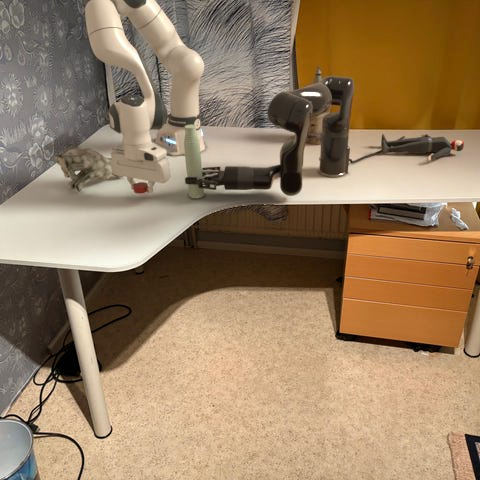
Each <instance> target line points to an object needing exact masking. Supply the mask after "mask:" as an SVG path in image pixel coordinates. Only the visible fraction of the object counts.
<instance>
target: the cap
mask: <svg viewBox="0 0 480 480" xmlns="http://www.w3.org/2000/svg"><path fill="white" fill-rule="evenodd" d="M135 183H136V184H134V185H133V188H134V190H133V192H134V193H135V194H139V195H140V194H145V193H148V192H147V190H146V188H147V187H148V186H149V183H148V182H146V181H145V182H144V181H141V182H135Z"/></svg>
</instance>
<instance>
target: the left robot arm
mask: <svg viewBox="0 0 480 480" xmlns="http://www.w3.org/2000/svg"><path fill="white" fill-rule="evenodd" d="M84 8H85V9H84V13H85V14H84V16H85V25H86V32H87V36H88V41H89V44H90V47H91V50H92V53H93V54H94V56H95V57H96V58H97V59H98V60H99V61H101V62H102V63H104V64H105V65H108V66H113V67H117V68H120V69H124V70H126V71H128V72H129V73H131V74H132V75H133V76H134V77H135V80H136V81H137V83H138V86H139V88H140V91H141V93H142V96H141V95H138V94H127V95H124V96H122V97H121V98H120V99H119V101H117V102H113V103H112V104H111V105H110V107H109V108H108V110H107V115H108V116H107V117H108V123H109V128H110V129H111V130H113V131H114V132H116V133H118V134H122V146H113V147H111V149H110V157H111V170H112V173H113V174H114V175H119V176H123V177H126V181H127V182H128V183H129V185H130V190H132V191H134V188H133V185H134V184H136V183H137V182H135V179H137V180H143V181H147V184H148V187H147V188H146V190H147V192H146V193H148V194H152V193H154V186H155V184H156V183H159V184H166V183H167V182H169V181H170V179H171V177H172V174H171V165H170V162H169V160H168V158H167V157H166V156H168V155H169V156H174V157H175V156H176V157H177V156H182V155H183V156H185V149H184V138H185V128H184V127H185V126H186V125H195V126H196V133H197V135H198V138H199V142H200V153H201V152H204V151H205V149H206V145H205V142H204V139H203V138H204V133H203V131H202V130H203V129H202V127H201V126H202V115H201V112H200V98H199V97H200V94H199V93H200V85H201V78H202V77H203V74H204V71H205V63H204V60H203V59H202V57H201V55H200V54H199V53H198V52H197V51H195V50H193V49H191V48H190V47H188V46H187V45H185V44H184V42H183V40H182V39H181V38H180V36H179V34H178V32H177V30H176V28H175V25H174V24H173V22H172V21H171V20H170V18H169V17H168V16H167V14H166V13H165V12H164V10H163V9H162V8H161V6H160V5H159V4H158V3H157V1H156V0H86V2H85V7H84ZM126 17H127V18H128V20H129V21H130V23H131V24H132V25H133V26H134V28H135V29H136V31H138V33H139V34H140V35H141V37H142V38H143V39H144V41H145V42H146V43H147V44H148V45H149V47H150V49H151V50H152V51H153V54H155V57H156V58H157V59H158V60H159V63H161V65H162V66H163V67H164V69H165V70H166V71H167V72H168V73H170V74H171V79H172V80H171V88H170V91H169V95H168V97H169V106H170V109H169V110H170V113H168V109H167V106H166V104H165V102H164V101H163V99H162V97H161V95H160V93H159V91H158V89H157V87H156V84H155V82H154V80H153V77H152V74H151V72H150V70H149V67H148V65H147V63H146V60H145V58H144V56H143V54H142V53H141V51H140V50H139V49H138V48H136V47H134V46H133V45H132V44H131V43H130V41H129V39H128V38H127V36H126V34H125V30H124V27H123V23H122V20H123V19H125V18H126ZM151 130H152V131H153V130H157V131H156V134H155V135H156V136H155V137H156V138H155V141H153V140H152V136H151Z"/></svg>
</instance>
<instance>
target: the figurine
mask: <svg viewBox="0 0 480 480" xmlns="http://www.w3.org/2000/svg"><path fill="white" fill-rule="evenodd" d="M54 160H55V163H57V165H59V166H60V170H61V171H62V173H63V176H64V177H65V178H67V179H68V178H69V179H70V180H71V181H70V182H69V183H68V186H69V188H70V189H71V190H76V192H77V193H81V192H82V187H84V185H85V184H87V183H88V182H90V181H92V180H94V179H96V180H108V179H109V178H111V176H113V177H118V178H124V176H119V175H114V174H113V173H112V170H111V158H110V157H106V156H104V155H103V154H102V153H100V152H98V151H97V150H95V149H93V148H89V147H83V146H72V147H69V148H67V149H65V150H64V151H63V152H58V153H57V154H56V155H55V156H54ZM76 172H78V173H76Z"/></svg>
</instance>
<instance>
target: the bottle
mask: <svg viewBox="0 0 480 480" xmlns="http://www.w3.org/2000/svg"><path fill="white" fill-rule="evenodd" d="M184 128H185V138H184V149H185V155H184V159H185V167H186V177H197V178H198V177H203V176H202V168H203V167H202V166H203V165H202V155H201V152H200V142H199V138H198V135H197V133H196V126H195V125H186V126H185V127H184ZM202 186H204V185H202ZM187 189H188V197H189V198H190V199H200V198H203V197H204V196H205V189H202V188H198V186H197V185H193V184H187Z"/></svg>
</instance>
